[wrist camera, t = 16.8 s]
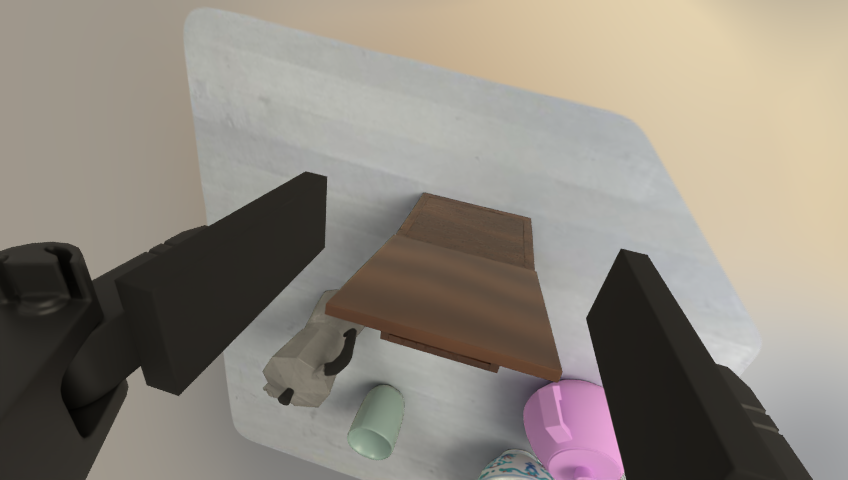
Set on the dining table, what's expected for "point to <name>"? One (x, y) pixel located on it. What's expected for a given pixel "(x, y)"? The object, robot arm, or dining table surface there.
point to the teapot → (573, 431)
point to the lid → (453, 305)
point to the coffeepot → (312, 358)
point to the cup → (377, 423)
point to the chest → (467, 246)
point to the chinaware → (515, 467)
